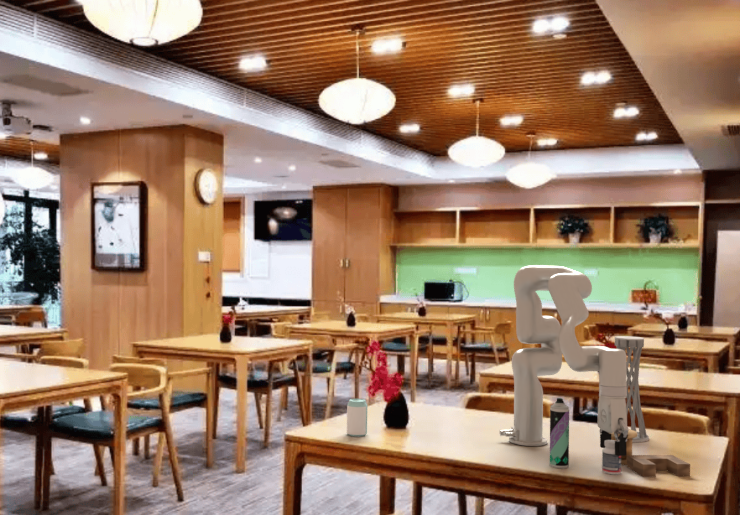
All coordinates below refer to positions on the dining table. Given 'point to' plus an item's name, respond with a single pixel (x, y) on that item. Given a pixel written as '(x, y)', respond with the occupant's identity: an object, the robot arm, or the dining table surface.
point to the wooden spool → (628, 444)
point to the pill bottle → (610, 458)
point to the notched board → (657, 465)
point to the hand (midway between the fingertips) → (613, 451)
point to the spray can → (559, 434)
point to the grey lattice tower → (633, 382)
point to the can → (357, 417)
